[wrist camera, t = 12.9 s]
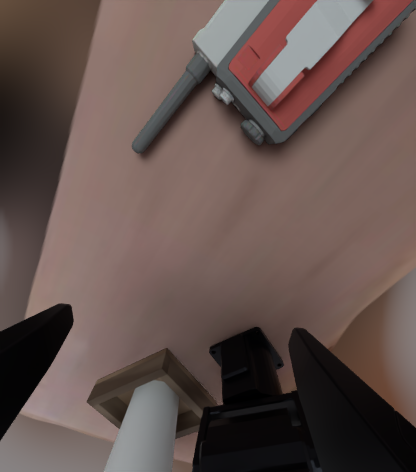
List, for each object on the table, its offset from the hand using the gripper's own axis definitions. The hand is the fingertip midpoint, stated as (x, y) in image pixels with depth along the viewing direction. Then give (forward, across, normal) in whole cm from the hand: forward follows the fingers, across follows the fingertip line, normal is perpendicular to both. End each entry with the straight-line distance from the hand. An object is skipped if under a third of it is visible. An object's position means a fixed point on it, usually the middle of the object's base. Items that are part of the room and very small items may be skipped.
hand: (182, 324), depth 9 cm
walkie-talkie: (+13, -3, -12) cm, 18 cm away
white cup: (+12, +4, +23) cm, 26 cm away
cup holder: (+12, +4, +23) cm, 26 cm away
